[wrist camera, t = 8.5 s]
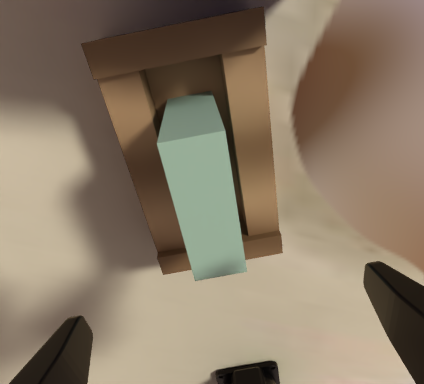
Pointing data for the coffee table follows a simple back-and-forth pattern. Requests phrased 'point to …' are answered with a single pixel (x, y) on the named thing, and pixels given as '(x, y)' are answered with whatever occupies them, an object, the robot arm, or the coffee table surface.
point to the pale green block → (202, 185)
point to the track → (187, 85)
